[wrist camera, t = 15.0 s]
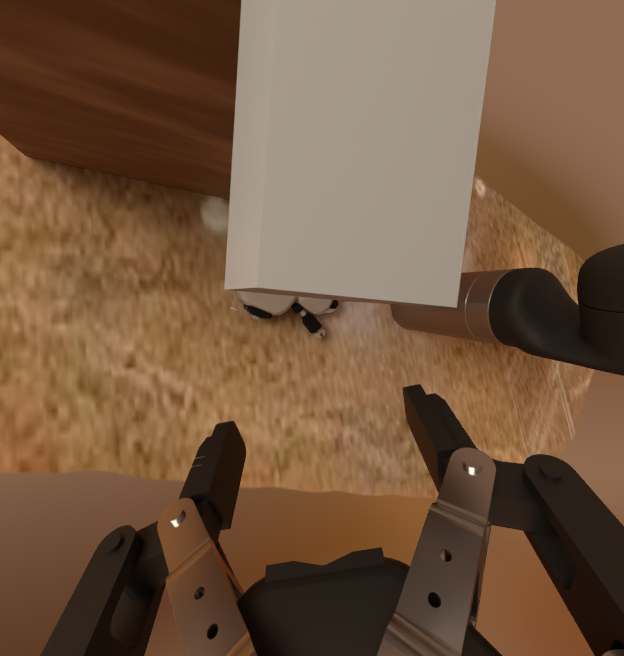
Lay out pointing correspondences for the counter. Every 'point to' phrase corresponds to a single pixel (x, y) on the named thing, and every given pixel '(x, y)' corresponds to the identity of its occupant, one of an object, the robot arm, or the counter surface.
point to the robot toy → (279, 304)
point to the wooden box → (124, 87)
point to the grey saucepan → (356, 147)
